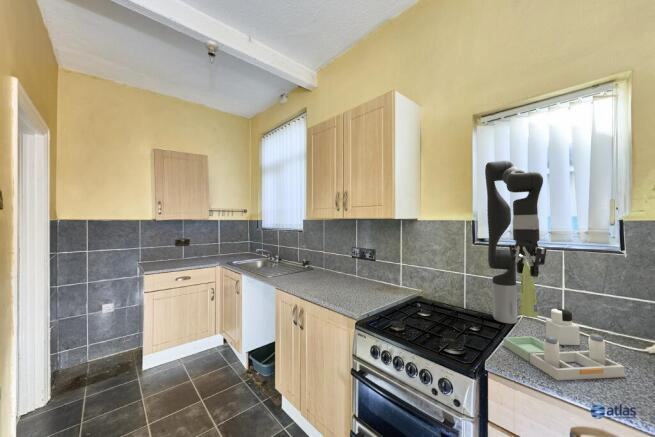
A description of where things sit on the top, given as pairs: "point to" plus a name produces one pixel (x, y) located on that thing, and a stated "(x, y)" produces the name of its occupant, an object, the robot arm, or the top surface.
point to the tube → (528, 294)
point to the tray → (524, 346)
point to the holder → (571, 373)
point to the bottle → (551, 351)
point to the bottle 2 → (597, 349)
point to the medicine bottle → (562, 327)
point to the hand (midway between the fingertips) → (527, 274)
